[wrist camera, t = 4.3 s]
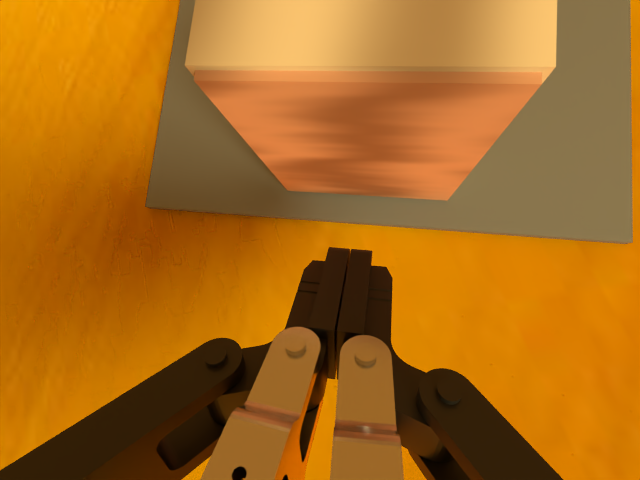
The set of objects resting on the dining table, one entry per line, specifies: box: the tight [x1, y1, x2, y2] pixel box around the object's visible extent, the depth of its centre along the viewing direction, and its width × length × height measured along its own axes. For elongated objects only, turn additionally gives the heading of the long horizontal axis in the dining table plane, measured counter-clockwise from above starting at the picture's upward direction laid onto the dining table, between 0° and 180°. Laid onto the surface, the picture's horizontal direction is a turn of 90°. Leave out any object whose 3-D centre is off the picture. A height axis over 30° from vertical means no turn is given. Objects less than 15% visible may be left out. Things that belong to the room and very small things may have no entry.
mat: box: [145, 0, 633, 244], centre depth 20 cm, size 26×16×1 cm, turn 84°
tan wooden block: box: [185, 0, 557, 201], centre depth 14 cm, size 9×3×11 cm, turn 84°
